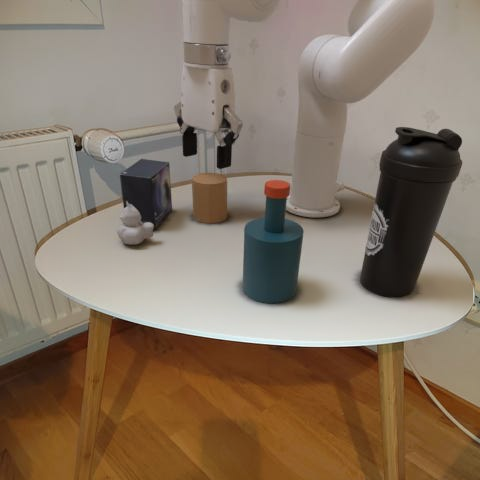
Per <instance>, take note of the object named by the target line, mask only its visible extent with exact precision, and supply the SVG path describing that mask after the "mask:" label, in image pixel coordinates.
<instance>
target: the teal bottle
mask: <svg viewBox="0 0 480 480" xmlns="http://www.w3.org/2000/svg"><path fill="white" fill-rule="evenodd" d="M290 192H291V182H288V181H286V180H282V179H271V180H267V181H266V182H264V192H263V194H264V196H265V211H264V217H258V218H254V219H252V220H250V221H248V222H247V223H246V224H245V226H244V229H243V230H244V233H243V262H242V291H243V293H244V294H245V296H246V297H248V298H249V299H251V300H253V301H256V302H259V303H264V304H280V303H285V302H288V301H289V300H291V299H293V298H294V296H296V294H297V288H298V282H299V281H298V280H299V272H300V265H301V256H302V249H303V241H304V240H303V239H304V233H305V232H304V231H305V230H304V228H303V226H302V225H301V224H299V223H298V222H296V221H294V220H291V219H288V218H286V212H287V210H286V202H287V197H288V196H289V194H290Z"/></svg>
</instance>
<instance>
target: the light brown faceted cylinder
mask: <svg viewBox="0 0 480 480" xmlns="http://www.w3.org/2000/svg"><path fill="white" fill-rule="evenodd" d="M191 191H192V192H191V193H192V215H193V218H194V220H195V221H197V222H199V223H203V224H219V223H221V222H224V221H225V220H226V219H227V218H228V178H227V177H226V175H224V174H222V173H217V172H201V173H197V174H195V175H193V176H192V177H191Z"/></svg>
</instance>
